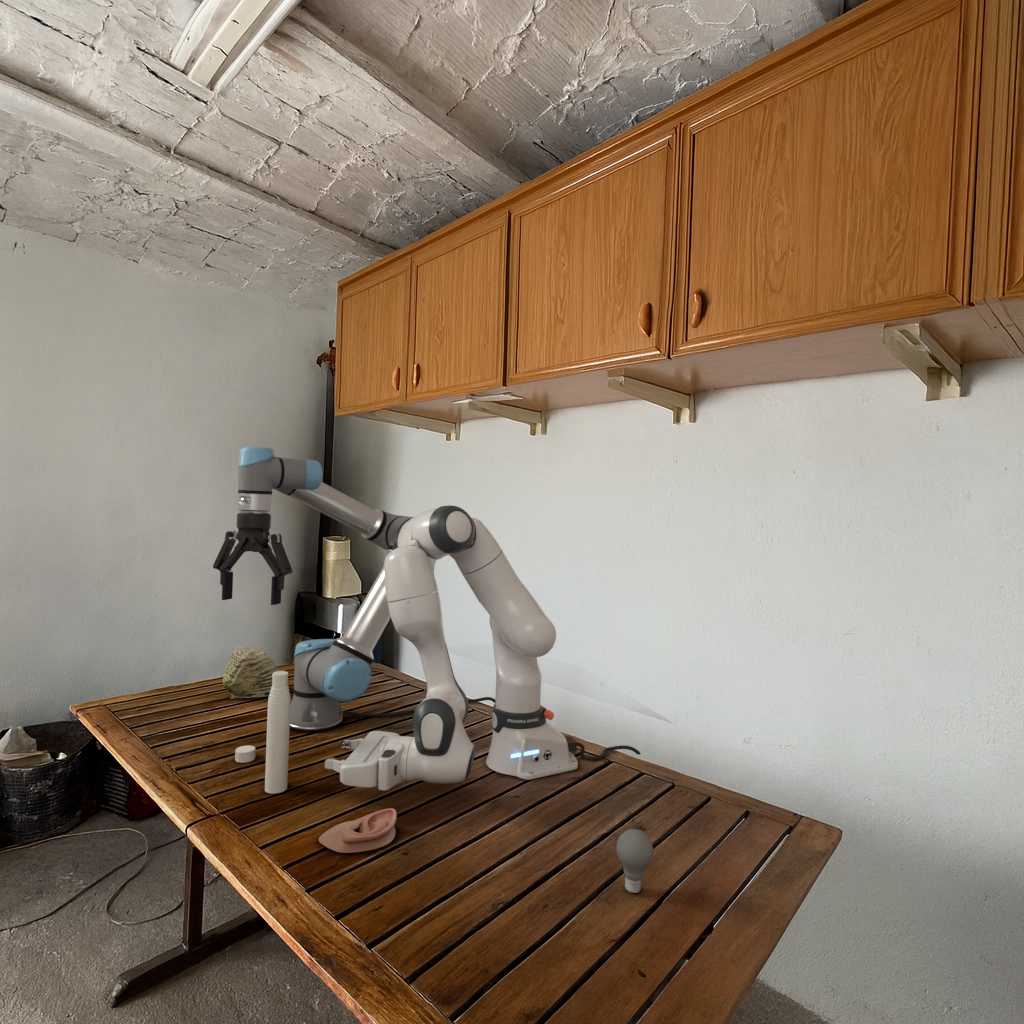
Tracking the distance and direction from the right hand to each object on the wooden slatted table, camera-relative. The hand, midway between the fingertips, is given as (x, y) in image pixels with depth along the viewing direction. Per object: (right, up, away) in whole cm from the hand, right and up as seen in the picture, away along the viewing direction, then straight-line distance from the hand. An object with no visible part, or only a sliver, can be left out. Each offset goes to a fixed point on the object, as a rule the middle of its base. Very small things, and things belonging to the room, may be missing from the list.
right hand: (334, 753), depth 135 cm
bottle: (-13, -8, +1) cm, 15 cm away
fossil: (-43, -6, +63) cm, 76 cm away
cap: (-26, -5, +16) cm, 30 cm away
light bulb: (+58, -12, -30) cm, 66 cm away
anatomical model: (+9, -9, -17) cm, 21 cm away
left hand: (-24, +30, +15) cm, 41 cm away
